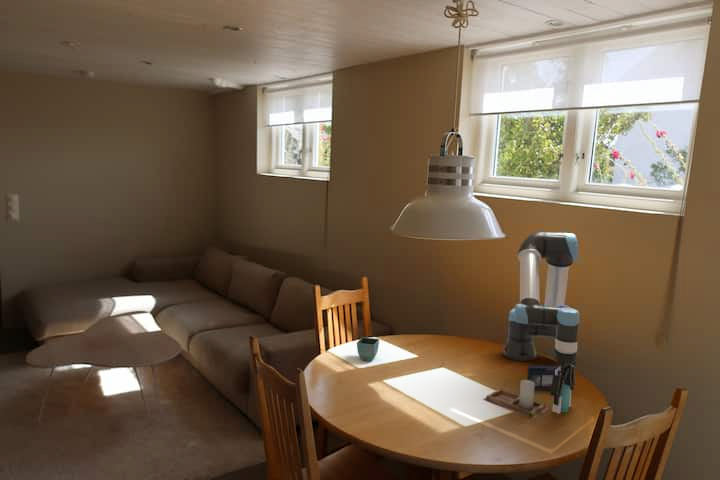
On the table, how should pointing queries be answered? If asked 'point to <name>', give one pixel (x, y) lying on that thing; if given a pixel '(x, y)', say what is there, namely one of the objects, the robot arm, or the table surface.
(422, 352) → the table surface
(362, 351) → the flower pot
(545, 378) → the vhs cassette tape
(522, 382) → the white cylinder
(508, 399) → the rack
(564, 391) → the teal rounded cylinder
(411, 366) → the table surface
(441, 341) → the table surface
